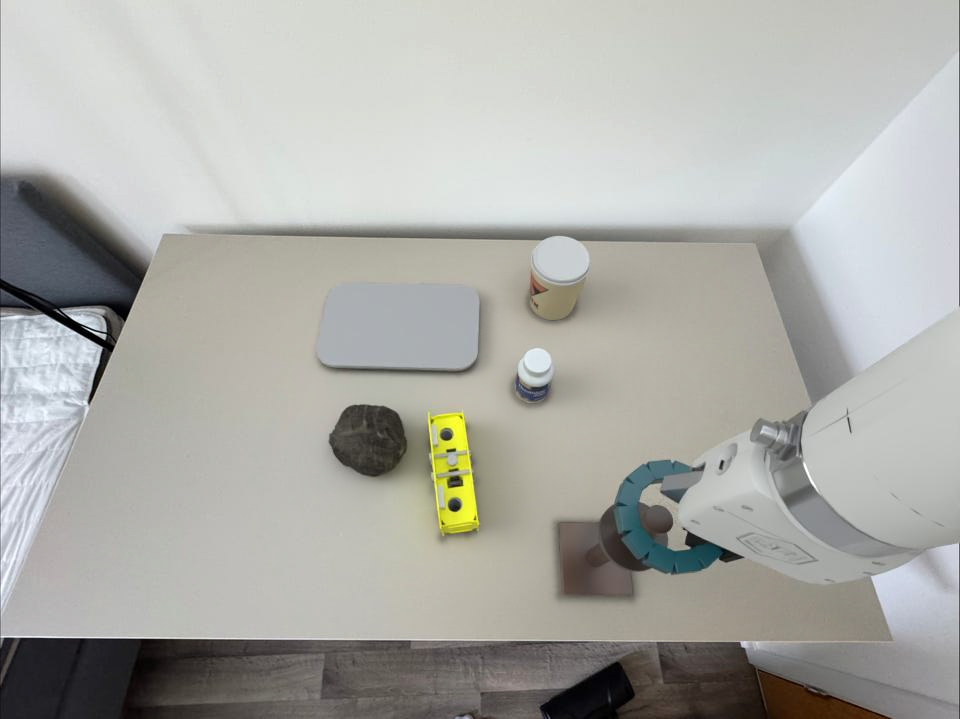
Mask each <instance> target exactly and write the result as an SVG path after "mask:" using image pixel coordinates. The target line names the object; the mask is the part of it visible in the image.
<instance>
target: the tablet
mask: <svg viewBox="0 0 960 719" xmlns="http://www.w3.org/2000/svg"><path fill="white" fill-rule="evenodd" d="M480 302H481V301H480V295H479V293H478V292H477V290H476V289H474V288H473V287H471V286H469V285H466V284H448V283H447V284H444V283H443V284H442V283H441V284H440V283H406V282H405V283H403V282H365V281H364V282H363V281H362V282H361V281H356V282H355V281H345V282H340V283H337V284H336V285H334V286H333V287H332V288H331V289H330V290H329V291H328V293H327V296H326V299H325V305H324V309H323V314H322V319H321V323H320V327H319V329H320V330H319V333H318V337H317V342H316V348H315V351H316V352H315V353H316V356H317V358H318V359H319V361H320V362H321V364H323V365H325V366H327V367H330V368H334V369H360V370H361V369H362V370H395V371H396V370H400V371H402V370H403V371H405V370H406V371H437V372H439V371H440V372H462V371H465V370H467V369H469V368H470V367H472V366H473V365H474V363H476V361H477V358H478V355H479V334H480V333H479V332H480V331H479V330H480V329H479V328H480Z"/></svg>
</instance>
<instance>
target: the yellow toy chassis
mask: <svg viewBox="0 0 960 719" xmlns="http://www.w3.org/2000/svg"><path fill="white" fill-rule="evenodd" d="M427 421H428V423H427V424H428V432H429V440H430V441H429V442H430V452H429V453H428V459H429V462H430V466H431V468H432V472H430V479H431V482H433V488H434V491H435V501H436V509H437V518H438V525H439V531H440V533H441V535H442V537H445V536H446V534H447V533H448V534H450V535H453V534H458V533H466V532H472V531H473V530H474V529H476V531H477V532H480V527H479V526H481V521H480V522H479V517H478V508H477V501H476V500H477V499H476V494H475V486H474V483H475V479H474V478H473V474H475V472H474V468H472V460H471V458H472V451H471V449H469V443H468V442H469V441H468V436H467V430H466V428H467V427H466V417H465V415H464V410H463V409H461V411H460V412H451V413H443V414H436V415H433V416H431V412H430V411H427ZM451 478H459V480H452V481H451ZM458 485H460V486H458ZM452 486H455V487H452ZM454 507H458V508H459V509H458V510H456V511H452V508H454Z"/></svg>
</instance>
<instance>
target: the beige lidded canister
mask: <svg viewBox="0 0 960 719" xmlns="http://www.w3.org/2000/svg"><path fill="white" fill-rule="evenodd" d="M591 268H592V258H591V255H590V253H589V250H588V248H586V246H585V245H584V244H583V243H581V242H580V241H579V240H577V239H576V238H573V237H570V236H565V235H554V236H550V237H547V238H545V239H543V240H542V241H540V242H539V243H538V244H537V245H535V247H534V248H533V250H532V252H531V255H530V281H529V282H530V283H529V305H530V307H531V309H532V311H533V313H534V314H536V315H537V316H538V317H539V318H542V319H544V320H548V321H558V320H562V319H564V318H566V317H568V316H569V315H570V314H571V313H572V311H573V309H574V307H575V305H576V303H577V301H578V298H579V296H580V293H581V292H582V289H583V286H584V284H585V282H586V278H587V276H588V275H589V273H590V271H591Z"/></svg>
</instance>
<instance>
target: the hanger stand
mask: <svg viewBox="0 0 960 719" xmlns="http://www.w3.org/2000/svg"><path fill="white" fill-rule="evenodd" d="M616 508H617V507H615V506H614V503H613V504H611V505H610V506H609V507H608V508H607V509H606V510H605V511H603V513H602V515H601V517H600V519H599V522H566V521H565V522H564V521H561V522H560V521H559V522H558V524H557V527H558V529H557V530H558V544H559V545H558V546H559V559H560V576H561V578H560V579H561V589H562V590H561V591H562V592H561V593H562V596H622V597H623V596H625V597H628V596H629V597H630V596H631V597H632V596H634V588H633V579H632V573H641V572H646V571H648V570H651V569H652V568H651V567H649V566H646V565H644V564H642V561H643V558H640V559H636V557H635V556H634V555H633V554H632V552H631V551H630V550H629V549H628V547H627V546H626V545H625V544H624V542H623V541H622V540H621V539H622V538H623V537H624V536H625V535H626V534H619V533H618V529H617V525H616V520H615V516H614V510H615V509H616ZM637 508H638V512H639V516H640V521H641V525H642V527H643V528H644V530H645V531H646V532H647V533H648V534H649V536H650V537H651V538H652V539H653V540H654V542H655V543H658V544H660V545H662V546H664V547H667V548H669V547H668V546H669V536H668V534H669V532H670V531H671V530H672V529H673V527H674V517H673V515H672V513H671V511H670V510H669V509H668V508H666V507H665V506H664V505H661V504H654V505H651V506H649V505H647V504H646V503H643V502H641V501H639V504H638V507H637Z"/></svg>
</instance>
